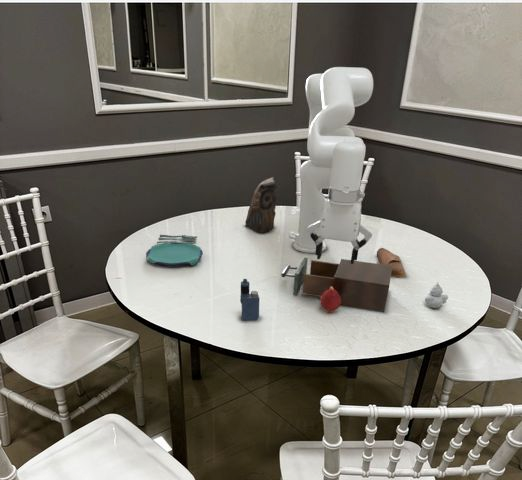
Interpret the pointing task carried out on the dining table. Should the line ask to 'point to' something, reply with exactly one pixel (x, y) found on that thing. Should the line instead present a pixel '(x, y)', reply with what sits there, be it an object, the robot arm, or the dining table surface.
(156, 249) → the cutlery set
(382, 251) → the sunglasses case
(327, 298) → the onion
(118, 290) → the dining table surface
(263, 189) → the owl
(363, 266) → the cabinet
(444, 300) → the grey lumpy piece
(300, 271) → the drawer
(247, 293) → the vaping device
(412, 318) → the dining table surface
